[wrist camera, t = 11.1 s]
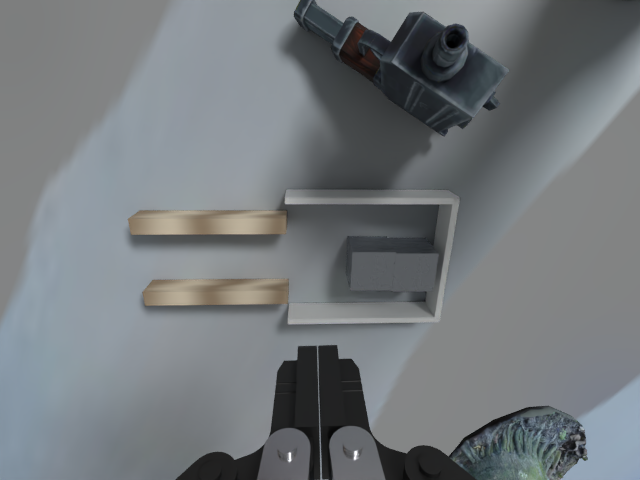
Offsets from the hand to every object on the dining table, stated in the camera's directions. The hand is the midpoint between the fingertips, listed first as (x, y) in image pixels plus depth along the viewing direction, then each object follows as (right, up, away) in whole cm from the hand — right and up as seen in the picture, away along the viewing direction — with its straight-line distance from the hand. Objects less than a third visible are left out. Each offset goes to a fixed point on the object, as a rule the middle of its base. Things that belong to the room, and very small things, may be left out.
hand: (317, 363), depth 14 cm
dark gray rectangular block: (+5, +3, +23) cm, 24 cm away
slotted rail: (-10, +3, +22) cm, 25 cm away
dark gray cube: (+9, +3, +23) cm, 25 cm away
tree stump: (+26, -25, +36) cm, 51 cm away
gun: (+5, +19, +17) cm, 26 cm away
